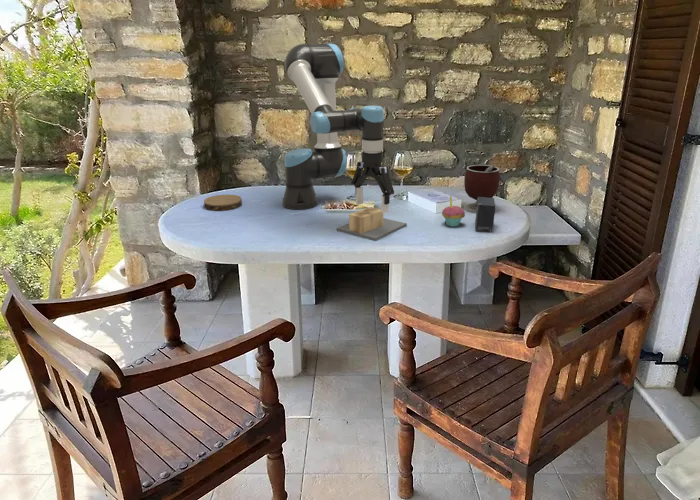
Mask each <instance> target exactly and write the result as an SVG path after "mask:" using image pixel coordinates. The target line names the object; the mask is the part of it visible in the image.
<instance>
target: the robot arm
mask: <svg viewBox="0 0 700 500" xmlns="http://www.w3.org/2000/svg"><path fill="white" fill-rule="evenodd" d="M284 59H285V60H284V69H285V74H286V75H287V76H288V78H289V80H290V81H292V82H294V84H295V86H296V88H297V90H298V92H299V94H300V95H301V97H302V99H303V102H305V104H306V106H307V108H308V111H309V112H310V113H311V114H310V117H309V124H310V128H311V130H312V132H313V133H314V134H316V139H317V142H316V144H315V145H314V151H313V150H312V149H311V148H306V147H305V148H297V149H292V150H290V151H287V152H286V153H285V155H284V163H283V165H284V175H285V190H284V195H283V198H282V206H283V207H284V208H286V209H290V210H307V209H312V208H315V207H317V206H318V205H319V199H318V196H317V194H316V190H315V187H314V180H319V179H328V178H335V177H340V176H342V175H343V174H345V172H346V170H347V165H348V156H347V152H346V150H345V149H343V147H342V144H341V143H340V142H339V141H338V133H341V132H342V133H343V132H344V133H345V132H354V131H359V132H361V151H362V152H361V161H357V163H356V169H355V172H354V175H353V177H352V179H351V182H350V184H351V185H352V186H354V188H355V191H354V192H355V196H356V197H355V201H356V206H359V205H362V204H364V186H363V184H364V182H365V181H366V180H367V178H368V177H369V178H370V177H371V178H372V179H374V180H375V181H376V182H377V184H378V187H379V189H380V190H381V192H382V194H381V210H382V212H381V213H383V214H385V213H389V204H390V201H391V200H390V197H391V195H395V190H394V185H393V184H392V180H391V177H390V174H389V167H388V166H385V167H384V166H382V163H383V162H384V152H383V150H384V122H385V121H384V120H385V115H384V108H383V107H382V106H380V105H365V106H363V107H361V108H360V107H351V108H350V109H343V110H342V109H341V110H337V97H336V96H337V95H336V82H337V81H338V80H339V78H340V77H339V75H341V74H342V73H343V70H344V65H345V64H344V62H345V61H344V56H343V53H342V51H341V49H340V47H339V46H338V45H336V44H334V43H328V42H327V43H326V42H325V43H300V44H296V45H295V46H293V47H292V48H291V49H290V50H289V51H288V53H287V55H286V56H285V58H284Z"/></svg>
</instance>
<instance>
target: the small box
mask: <svg viewBox="0 0 700 500" xmlns="http://www.w3.org/2000/svg"><path fill="white" fill-rule="evenodd" d="M476 201H477V210H476V213H475V221H474V229H475V232H482V233H483V232H484V233H486V232H487V233H492V232H493V229H494V224H495V223H494V222H495V213H496V204H495V203H496V201H495V197H492V198H487V197H478V200H476Z"/></svg>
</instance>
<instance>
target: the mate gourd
mask: <svg viewBox="0 0 700 500" xmlns="http://www.w3.org/2000/svg"><path fill="white" fill-rule="evenodd" d="M464 174H465V175H464V181H463V183H464V191H465V193H466V195H467V196H468V197H469V198H471V199H473V200H475V202H472V203H467V204H465V205H464V211H467V212H470V213H475V214H476V210H477V200H478V197H487V198H494V197H495V195H496V194H497V192H498V190H499V186H500V180H501V179H500V167H497V166H495V165H488V164H473V165H469V166H467V167H466V170H465V173H464Z"/></svg>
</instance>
